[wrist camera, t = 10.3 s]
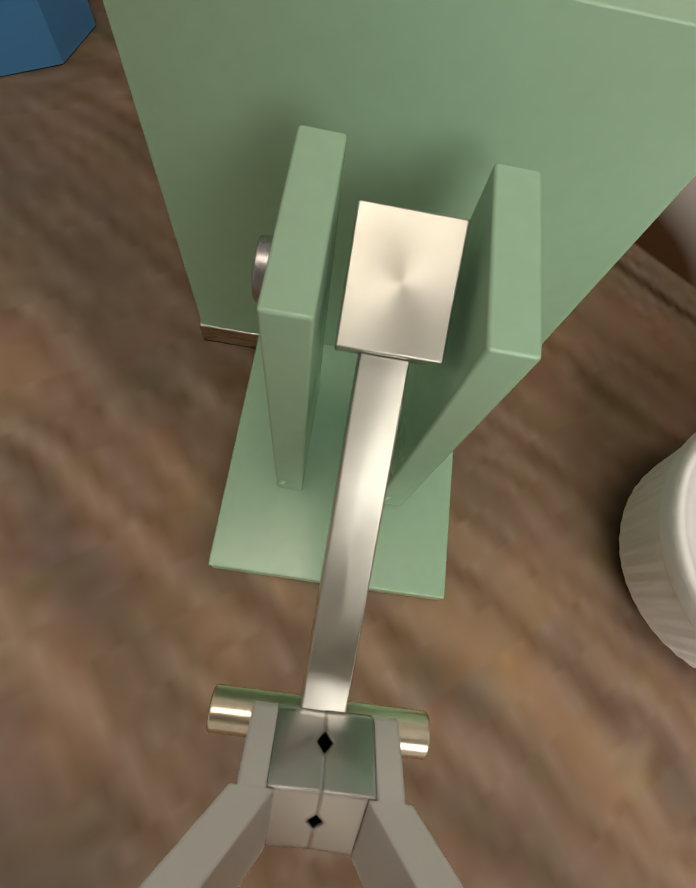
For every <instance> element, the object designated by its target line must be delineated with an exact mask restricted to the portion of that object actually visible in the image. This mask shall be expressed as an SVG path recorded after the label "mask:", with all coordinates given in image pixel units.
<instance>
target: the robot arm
mask: <svg viewBox="0 0 696 888" xmlns="http://www.w3.org/2000/svg"><path fill="white" fill-rule="evenodd" d="M278 706H279V709H278ZM277 714H278V715H277ZM276 720H277V721H276ZM264 845H267V846H279V847H291V848H303V849H312V850H319V851H326V852H333V853H339V854H346V855H352V856H351V860H352V862H353V864H354V867H355V869H356V872H357V874H358V876H359V879H360V881H361V883H362V886H363V888H464V887H463V885H462V884H461V882H460V880H459V879H458V877H457V875H456V874H455V872H454V871H453V869H452V867H451V866H450V864H449V863H448V861H447V859H446V858H445V856H444V855H443V853H442V851H441V850H440V848H439V846H438V845H437V843H436V842H435V840H434V838H433V837H432V835H431V834H430V832H429V830H428V829H427V827H426V825H425V824H424V822H423V821H422V819H421V817H420V816H419V814H418V813H417V811H416V809H415V808H414V806H413V805H407V804H406V801H405V789H404V777H403V766H402V754H401V742H400V730H399V724H398V721H397V719H394V718H385V717H375V716H372V715H366V714H358V713H349V712H340V711H331V710H326V711H324V710H317V709H311V708H304V707H297V706H291V705H284V704H279V703H271V702H264V701H256V700H255V702H254V705H253V707H252V711H251V716H250V721H249V726H248V731H247V735H246V740H245V745H244V750H243V754H242V759H241V764H240V769H239V774H238V778H237V783H236V784H233V783H229V784H228V785H227V786H226V787H225V788H224V789H223V790H222V792H221V793H220V794H219V795H218V796H217V797H216V799H215V800H214V801H213V802H212V803H211V804H210V805H209V807H208V808H207V809H206V810H205V811H204V812H203V813H202V815H201V816H200V817H199V818H198V819H197V820H196V822H195V823H194V824H193V825H192V826H191V827H190V828H189V830H188V831H187V832H186V833H185V834H184V835H183V837H182V838H181V839H180V840H179V841H178V842H177V843H176V845H175V846H174V847H173V848H172V849H171V850H170V851H169V853H168V854H167V855H166V856H165V857H164V858H163V860H162V861H161V862H160V863H159V864H158V865H157V866H156V868H155V869H154V870H153V871H152V872H151V873H150V875H149V876H148V877H147V878H146V879H145V880H144V881H143V883H142V884H141V885H140V886H139V887H138V888H238V887H239V886H240V884H241V883H242V881H243V880H244V878H245V877H246V875H247V873H248V872H249V870H250V869H251V867H252V866H253V864H254V863H255V861H256V860H257V858H258V857H259V855H260V854H261V852H262V851H263V849H264Z"/></svg>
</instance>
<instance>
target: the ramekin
mask: <svg viewBox="0 0 696 888" xmlns="http://www.w3.org/2000/svg"><path fill="white" fill-rule="evenodd" d="M619 545H620V550H619V555H620V559H621V568H622V571H623V574H624V577H625V582H626V585H627V587H628V589H629V591H630V594H631V597H632V599H633V601H634V603H635V604H636V606H637V608H638V610H639V612H640V614H641V615H642V617H643V618H644V619H645V621H646V622H647V624H648V626H649V627H650V629H651V630H652V631H653V632H654V633H655V634H656V635H657V636H658V638H659V639H660V640H661V642H662V643H663V644H664V645H666V646H667V647H669V648H670V649H671V650H672V651H673V652H674V654H675V655H676V656H678V657H679V658H681V659H683V660H684V661H685V662H686V663H688V664H689V665H690V666H692V667H693V668H696V432H695V433H694V434H693V435H692V436H691V437H690V438H689V439H688V440H687V441H686V442H685V443H684V444H683V446H682V447H681V448H679V449H678V450H676V451H675V452H674V453H672V454H671V455H670V456H668V457H667V458H666V459H664V460H663V461H661V462H660V463H659V464H657V465H656V466H655V467H653V468H652V469H651V470H650V472H648V473H647V474H646V475H645V476H644V477H643V478H642V479H641V481H640V482H639V483H638V484H637V485H636V486H635V488H634V489H633V492H632V494H631V495H630V497H629V498H628V501H627V504H626V507H625V509H624V511H623V517H622V521H621V524H620V536H619Z"/></svg>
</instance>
